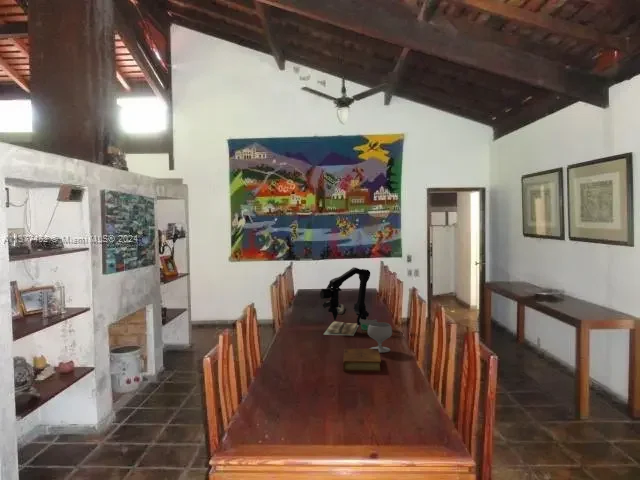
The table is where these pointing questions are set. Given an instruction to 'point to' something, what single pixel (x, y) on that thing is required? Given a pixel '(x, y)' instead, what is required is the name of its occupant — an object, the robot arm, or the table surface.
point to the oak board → (349, 328)
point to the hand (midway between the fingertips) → (335, 319)
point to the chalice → (380, 334)
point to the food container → (366, 325)
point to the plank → (335, 327)
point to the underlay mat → (340, 332)
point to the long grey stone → (341, 309)
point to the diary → (361, 360)
